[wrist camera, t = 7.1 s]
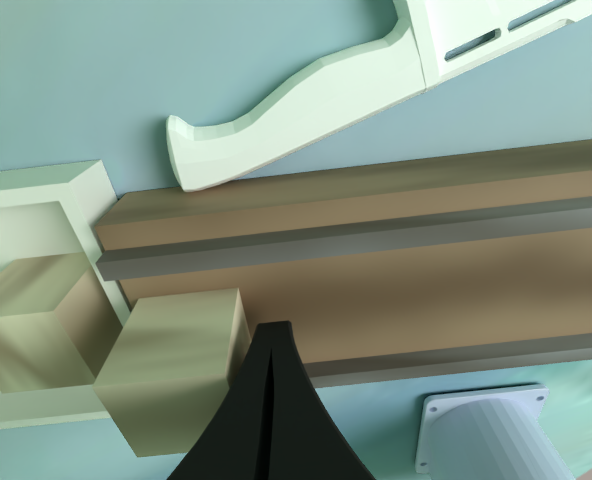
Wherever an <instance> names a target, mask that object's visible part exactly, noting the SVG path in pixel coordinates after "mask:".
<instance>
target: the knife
mask: <svg viewBox="0 0 592 480" xmlns="http://www.w3.org/2000/svg"><path fill="white" fill-rule="evenodd" d="M552 1H554V0H393V3H394V5H395V8H396V12H397V16H398V21H397V23H396V25H395V26H394V28H393V30H392V31H391V32H390V33H389V34H388V35H386V36H385V37H384V38H382V39H379V40H375V41H371V42H368V43H364V44H360V45H357V46H353V47H349V48H347V49H344V50H341V51H338V52H336V53H333V54H330V55H327V56H324V57H322V58H319V59H317V60H316V61H314V62H313V63H311V64H310V65H308V66H306V67H305V68H303V69H302V70H300V71H299V72H297V73H296V74H294V75H292V76H291V77H290V78H289V79H287V80H286V81H285V82H284V83H283V84H281V85H280V86H279V87H278V88H277V89H276V90H274V91H273V92H272V93H271V94H270V95H268V96H267V97H266V98H265V99H264V100H263V101H261V102H260V103H259V104H258V105H257V106H256V107H255V108H253V109H252V110H251V111H250V112H249V113H247V114H245V115H243V116H241V117H240V118H238V119H236V120H234V121H232V122H228V123H224V124H219V125H215V126H205V127H194V126H191V125H188V124H187V123H186V122H184V121H183V120H182V119H180V118H179V117H177V116H173V115H170V116H169V117H168V118H167V120H166V136H167V146H168V152H169V158H170V162H171V165H172V168H173V172H174V175H175V177H176V179H177V181H178V182H179V184H180V186H181V188H182V189H183V191H184V192H194V191H199V190H203V189H207V188H210V187H213V186H216V185H219V184H222V183H225V182H228V181H231V180H233V179H236V178H239V177H241V176H243V175H246V174H248V173H250V172H252V171H254V170H257V169H259V168H261V167H263V166H265V165H268V164H270V163H272V162H274V161H276V160H278V159H281V158H283V157H285V156H287V155H289V154H291V153H294V152H296V151H298V150H300V149H302V148H304V147H307V146H309V145H311V144H313V143H315V142H317V141H320V140H322V139H324V138H326V137H328V136H330V135H333V134H335V133H337V132H339V131H341V130H343V129H345V128H348V127H350V126H352V125H354V124H356V123H358V122H361V121H363V120H365V119H367V118H369V117H371V116H373V115H376V114H378V113H380V112H382V111H384V110H386V109H389V108H391V107H393V106H395V105H397V104H399V103H401V102H404V101H406V100H408V99H410V98H412V97H414V96H417V95H419V94H422V93H425V92H427V91H429V90H431V89H433V88H436V87H437V86H438V85H439V84H440V83H442V82H444V81H447V80H449V79H451V78H453V77H455V76H457V75H460V74H462V73H464V72H466V71H468V70H470V69H472V68H475V67H477V66H479V65H481V64H483V63H485V62H488V61H490V60H492V59H494V58H496V57H498V56H500V55H503V54H505V53H507V52H509V51H511V50H513V49H516V48H518V47H520V46H522V45H524V44H526V43H528V42H531V41H533V40H535V39H537V38H539V37H541V36H544V35H546V34H548V33H550V32H552V31H554V30H556V29H559V28H561V27H563V26H565V25H568V24H571V23H574V22H577V21H579V20H581V19H583V18H585V17H587V16H589V15H591V14H592V0H571V1H569V2H568V3H566V4H563V5H561V6H559V7H557V8H555V9H553V10H551V11H549V12H547V13H545V14H543V15H541V16H538V17H536V18H534V19H532V20H530V21H528V22H526V23H524V24H522V25H520V26H518V27H516V28H514V29H512V30H509V31H508V29H507V27H508V24H509V22H510V21H512V20H514V19H516V18H518V17H520V16H522V15H524V14H527V13H529V12H531V11H533V10H535V9H537V8H539V7H541V6H543V5H545V4H547V3H550V2H552ZM492 30H495V37H494V38H492V39H491V40H489V41H486V42H484V43H482V44H480V45H478V46H476V47H474V48H472V49H470V50H468V51H466V52H464V53H461V54H459V55H457V56H455V57H453V58H451V59H449V60H447V61H446V60H444V57H445V54H446V52H448V51H450V50H452V49H454V48H456V47H458V46H461V45H463V44H465V43H467V42H469V41H471V40H473V39H475V38H477V37H480V36H482V35H484V34H486V33H488V32H490V31H492Z"/></svg>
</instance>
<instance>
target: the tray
mask: <svg viewBox="0 0 592 480" xmlns="http://www.w3.org/2000/svg"><path fill="white" fill-rule="evenodd" d="M117 202H118V200H117V197H116V195H115V192H114V190H113V187H112V185H111V183H110V180H109V178H108V175H107V173H106V170H105V168H104V165H103V163H102V160H93V161H85V162H76V163H67V164H59V165H50V166H42V167H33V168H24V169H16V170H7V171H0V272H1V271H3V270H4V269H5V268H6V267H7V266H9V265H10V264H11V263H12V262H13V261H14V260H16V259H22V258H31V257H40V256H50V255H59V254H68V253H78V252H85V253H86V255H87V257H88V259H89V261H90V263H91V265H92V267H93V269H94V271H95V273H96V275H97V277H98V279H99V281H100V283H101V285H102V287H103V289H104V291H105V293H106V295H107V297H108V299H109V301H110V303H111V305H112V307H113V309H114V311H115V313H116V315H117V317H118V319H119V320H120V322H121V324H122V326H123V327H124V326H125V324H126V322H127V320H128V318H129V316H130V314H131V312H132V310H133V309H132V307H131V305H130V303H129V300H128V298H127V296H126V294H125V292H124V290H123V288H122V285H121V283H120V281H119V280H115V281H106V282H104V280H103V278H102V276H101V274H100V272H99V270H98V268H97V266H96V264H95V263H96V262H97V260H98V259H99V258H100V257H101V255H102V254H103V253H104V252H105V249H104V247H103V245H102V243H101V240H100V238H99V236H98V234H97V232H96V230H95V228H94V226H95V225H96V224H97V223H98V222H99V221H100V220H101V219H102V218H103V217H104V216H105V215H106V214H107V213H108V212H109V211H110V210H111V209H112V208H113V207H114V205H115V204H116V203H117ZM92 386H93V384H92V385H82V386H72V387H62V388H53V389H43V390H33V391H23V392H13V393H4V394H2V392H1V391H0V429H7V428H17V427H27V426H36V425H46V424H55V423H65V422H74V421H84V420H94V419H103V418H111V416H110V414H109V413H108V411H107V410H106V408H105V407H104V405H103V404H102V402H101V401H100V399H99V398H98V396H97V395H96V393H95V391H94V390H93V388H92Z"/></svg>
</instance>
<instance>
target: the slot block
mask: <svg viewBox="0 0 592 480" xmlns="http://www.w3.org/2000/svg"><path fill="white" fill-rule="evenodd" d="M94 228H95V230H96V232H97V234H98V236H99V238H100V240H101V243H102V245H103V247H104V249H105V252H104V253H103V254H102V255H101V257H100V258H99V259H98V260H97V262H96V263H95V264H96V266H97V268H98V270H99V272H100V274H101V276H102V278H103V280H104V282H106V281H115V280H119V281H120V283H121V285H122V288H123V290H124V292H125V294H126V296H127V298H128V300H129V303H130V305H131V307H132V309H134V307H135V305H136V303H137V301H138V299H140V298H149V297H158V296H167V295H177V294H186V293H195V292H204V291H214V290H223V289H232V288H239V292H240V297H241V301H242V305H243V309H244V313H245V317H246V321H247V326H248V330H249V334H250V338H251V341H252V338H253V335H254V332H255V329H256V326H257V325H258V324H259V323H267V322H277V321H286V320H289V321H290V322H291V323H292V330H293V337H294V341H295V344H296V347H297V350H298V353H299V356H300V358H301V360H302V363H303V365H304V368H305V370H306V372H307V375H308V377H309V379H310V381H311V383H312V385H313V387H314V388H323V387H333V386H342V385H352V384H361V383H371V382H380V381H390V380H399V379H409V378H419V377H428V376H438V375H447V374H457V373H466V372H476V371H485V370H495V369H504V368H514V367H523V366H533V365H543V364H552V363H562V362H571V361H581V360H590V359H592V139H591V140H582V141H574V142H565V143H556V144H547V145H539V146H530V147H521V148H512V149H504V150H495V151H486V152H478V153H469V154H460V155H451V156H443V157H434V158H425V159H416V160H408V161H399V162H390V163H382V164H373V165H364V166H355V167H347V168H338V169H329V170H320V171H312V172H303V173H294V174H286V175H277V176H268V177H259V178H251V179H242V180H233V181H228V182H225V183H222V184H219V185H216V186H213V187H210V188H207V189H203V190H199V191H194V192H184V191H183V189H182V188H181V187H172V188H163V189H155V190H146V191H137V192H128V193H126V194H125V195H124V196H123V197H122V198H121V199H120V200H119V201H118V202H117V203H116V204H115V205H114V207H113V208H112V209H111V210H110V211H109V212H108V213H107V214H106V215H105V216H104V217H103V218H102V219H101V220H100V221H99V222H98V223H97V224H96V225H95V226H94Z"/></svg>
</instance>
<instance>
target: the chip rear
mask: <svg viewBox="0 0 592 480" xmlns="http://www.w3.org/2000/svg"><path fill="white" fill-rule="evenodd" d="M122 329H123V326H122V324H121V322H120V320H119V319H118V317H117V315H116V313H115V311H114V309H113V307H112V305H111V303H110V301H109V299H108V297H107V295H106V293H105V291H104V289H103V287H102V285H101V283H100V281H99V279H98V277H97V275H96V273H95V271H94V269H93V267H92V265H91V263H90V261H89V259H88V257H87V255H86V253H85V252H78V253H68V254H59V255H50V256H40V257H31V258H22V259H16V260H14V261H13V262H12V263H11V264H10V265H9V266H7V267H6V268H5V269H4V270H3V271H1V272H0V391H1V392H2V394H4V393H13V392H23V391H33V390H43V389H53V388H62V387H72V386H82V385H92V384H94V382H95V380H96V378H97V376H98V374H99V373H100V371H101V369H102V367H103V365H104V363H105V361H106V359H107V358H108V356H109V354H110V352H111V350H112V348H113V346H114V344H115V342H116V341H117V339H118V337H119V335H120V333H121V331H122Z"/></svg>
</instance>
